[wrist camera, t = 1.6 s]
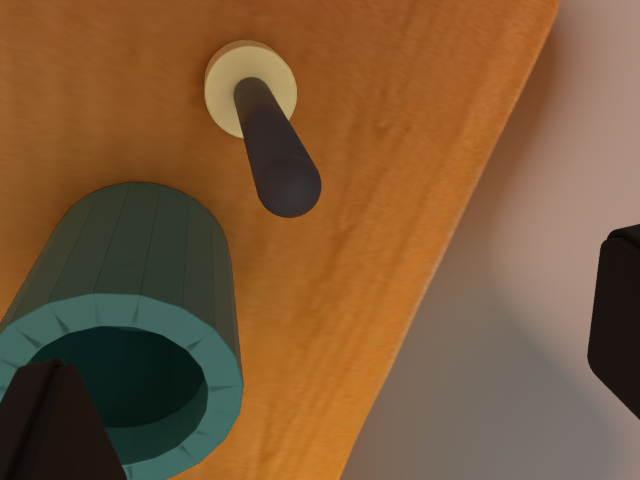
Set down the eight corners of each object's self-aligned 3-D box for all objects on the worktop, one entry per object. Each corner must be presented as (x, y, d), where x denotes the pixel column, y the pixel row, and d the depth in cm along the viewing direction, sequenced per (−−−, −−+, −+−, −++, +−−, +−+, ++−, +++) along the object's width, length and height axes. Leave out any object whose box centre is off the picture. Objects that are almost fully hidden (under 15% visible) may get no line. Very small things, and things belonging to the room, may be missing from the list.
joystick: (194, 47, 30) (186, 130, 14) (281, 32, 30) (368, 96, 14) (215, 133, 32) (227, 287, 16) (295, 118, 33) (382, 252, 17)
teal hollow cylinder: (22, 202, 32) (-79, 330, 20) (208, 165, 33) (210, 267, 21) (86, 347, 37) (35, 514, 25) (244, 311, 38) (262, 454, 27)
